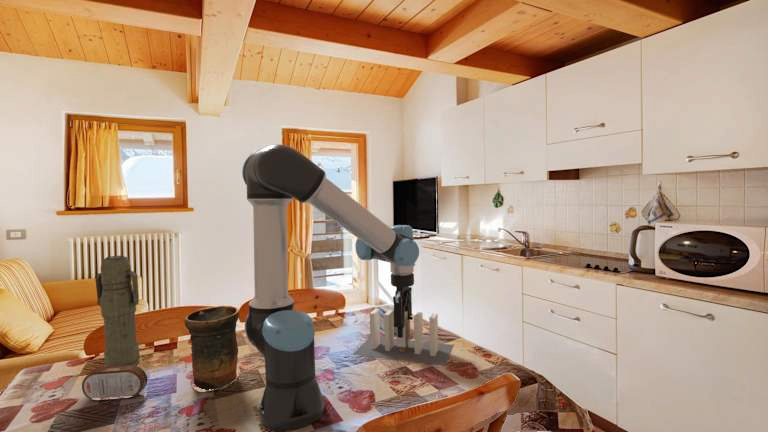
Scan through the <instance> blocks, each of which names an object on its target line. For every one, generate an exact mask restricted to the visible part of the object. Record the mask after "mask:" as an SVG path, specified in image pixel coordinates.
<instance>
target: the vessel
mask: <svg viewBox="0 0 768 432" xmlns="http://www.w3.org/2000/svg"><path fill="white" fill-rule="evenodd" d="M239 317H240V309H239V308H238V307H237V306H232V305H217V306H207V307H202V308H199V309H196V310H194V311H192V312H191V313H189V314H188V315H186V316H185V317H184V320H183V321H184V326H185V328H186V329H187V330H188V334H190V337H189V339H190V342H191V348H190V349H191V363H192V364H191V366H192V375H193V382H194V384H195V385H196V386H197V387H199V388H201V389H205V390H209V389H211V390H212V389H220V390H219V391H221V390H224V389H226V388H228V387H227V385H229V384H230V385H231V384H232V383H231V382H232V381H234V380H235V379H236V377H239V376H240V374H239V370H238V369H237V368H238V363H239V359H238V355H239V354H238V353H239V348H238V347H239V346H238V340H237V332H236V330H237V323H238V321H239V319H240V318H239ZM230 385H229V386H230ZM221 388H222V389H221Z"/></svg>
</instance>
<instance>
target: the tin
mask: <svg viewBox="0 0 768 432" xmlns="http://www.w3.org/2000/svg"><path fill="white" fill-rule="evenodd" d="M81 382H82V383H81V390H82V393H83V394H84V396H85V397H86V398H87V399H89V400H91V399H92V398H109V397H120V396H135V397H136V396H138V395H139V394H141V392H142V391H143V390H144V389H145V388H146V387H147V383H148V376H147V374H146V372H145V370H144V369H143V368H142V367H140V366H139V367H137V366H134V365H127V366H113V367H106V366H101V367H96V368H94V369H92V370H91V371H90V372H89V373H88V374H87V375H86V376H85V377H84V378H83V380H82V381H81Z"/></svg>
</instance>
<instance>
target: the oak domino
mask: <svg viewBox="0 0 768 432" xmlns="http://www.w3.org/2000/svg"><path fill="white" fill-rule="evenodd" d="M404 326H405V337H406V347H399V349H400V352H405V350H406V349H407V348H408V311H405V318H404Z"/></svg>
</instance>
